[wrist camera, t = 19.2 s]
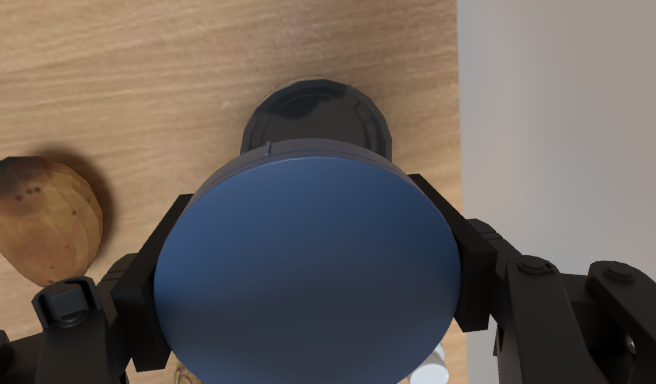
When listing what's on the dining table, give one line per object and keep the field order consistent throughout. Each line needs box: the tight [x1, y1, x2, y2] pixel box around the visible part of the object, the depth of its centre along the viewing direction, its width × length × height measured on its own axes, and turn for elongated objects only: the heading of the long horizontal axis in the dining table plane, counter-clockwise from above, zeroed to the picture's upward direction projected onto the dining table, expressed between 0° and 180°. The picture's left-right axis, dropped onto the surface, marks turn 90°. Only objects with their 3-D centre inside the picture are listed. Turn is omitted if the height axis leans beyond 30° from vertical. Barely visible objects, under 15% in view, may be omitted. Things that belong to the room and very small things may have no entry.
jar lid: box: [153, 138, 461, 384], centre depth 11 cm, size 9×9×2 cm
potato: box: [0, 156, 102, 288], centre depth 33 cm, size 8×14×8 cm
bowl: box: [240, 75, 392, 163], centre depth 34 cm, size 13×13×4 cm
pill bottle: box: [407, 342, 449, 384], centre depth 41 cm, size 5×5×10 cm
